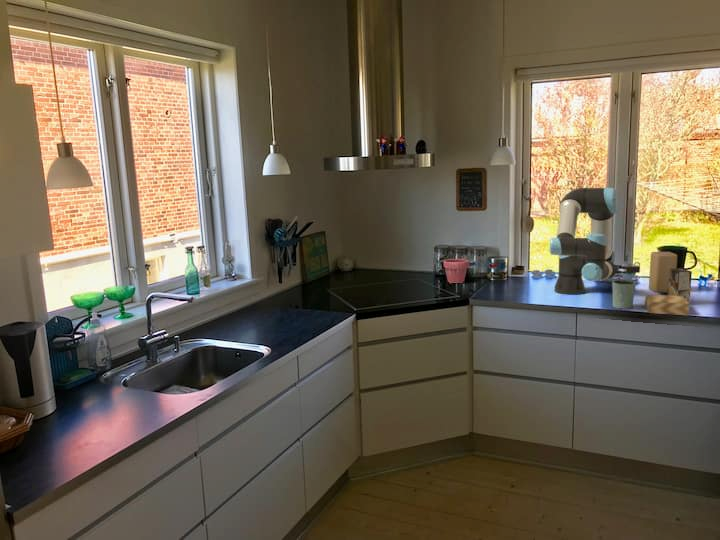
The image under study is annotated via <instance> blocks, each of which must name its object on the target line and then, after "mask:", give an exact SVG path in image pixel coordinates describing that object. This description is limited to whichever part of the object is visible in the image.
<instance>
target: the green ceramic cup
mask: <svg viewBox="0 0 720 540" xmlns="http://www.w3.org/2000/svg"><path fill="white" fill-rule="evenodd" d="M636 285H637V282H636V281H633V280H630V279H629V280H628V279H615V280H612V285H611V286H612V307H613V308H614V307H615V309H619V308H622V309H621V310H629V309H628V308H631V309H632V308H633V307H634V298H635V291H636Z"/></svg>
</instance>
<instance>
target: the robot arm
mask: <svg viewBox="0 0 720 540" xmlns="http://www.w3.org/2000/svg"><path fill="white" fill-rule="evenodd" d="M618 206H619V201H618V192H617V190H616V189H615V188H613V187H579V188H574V189H572V190H571V191H569V192H568V193H567V194H565V196H564V197H563V198H562V199H561V201H560V203H559V207H558V210H559V213H560V214H559V219H558V225H557V232H556V236H555V237H551V238H550V239H549V254H550V255H553V256H558V275H557V279H556V282H555V285H554V290H553V291H554V292H555V293H558V294H561V295H562V294H563V295H581V294H584V293H585V292H586V286H585V283H584V281H583V278H584V280H586V281H589V282H598V281H600V282H601V281H603V280H605V279H606V280H607V279H611V278H613V277H614V276H615V275H616V274H629V273H630V274H634V275H636V273H638V274H639V273H640V272H641V267H640V265H639V264H635V265H628V266H627V265H626V266H625V265H624V266H622V265H619V264H615V259H616V252H615V251H614V250H612V247H610V233H611V219H612V218H613V217H614V215H615V214H617V213H618V209H619V207H618ZM580 214H587V216H588V217H589V218H590V233H588V234H587V235H586V237H576V232H577V225H578V216H579V215H580Z"/></svg>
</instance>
